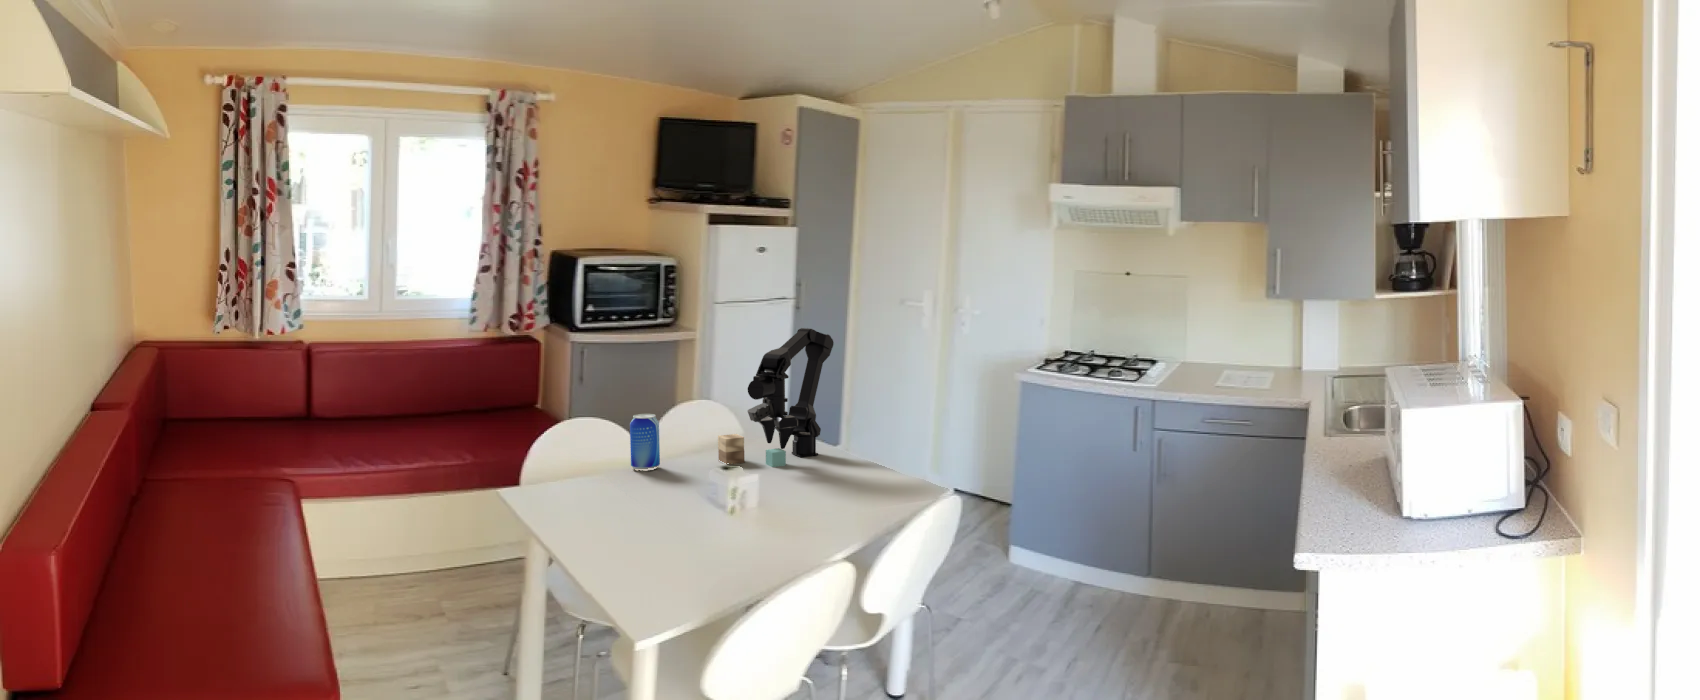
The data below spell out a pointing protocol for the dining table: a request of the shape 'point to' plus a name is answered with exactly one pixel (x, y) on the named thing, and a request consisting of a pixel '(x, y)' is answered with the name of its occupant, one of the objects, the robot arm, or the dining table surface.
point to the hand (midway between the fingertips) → (775, 445)
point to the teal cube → (775, 457)
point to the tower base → (731, 457)
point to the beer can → (644, 441)
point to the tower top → (731, 443)
